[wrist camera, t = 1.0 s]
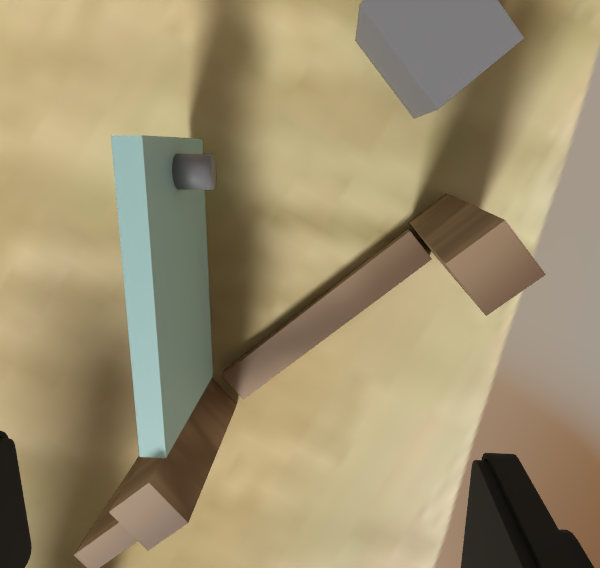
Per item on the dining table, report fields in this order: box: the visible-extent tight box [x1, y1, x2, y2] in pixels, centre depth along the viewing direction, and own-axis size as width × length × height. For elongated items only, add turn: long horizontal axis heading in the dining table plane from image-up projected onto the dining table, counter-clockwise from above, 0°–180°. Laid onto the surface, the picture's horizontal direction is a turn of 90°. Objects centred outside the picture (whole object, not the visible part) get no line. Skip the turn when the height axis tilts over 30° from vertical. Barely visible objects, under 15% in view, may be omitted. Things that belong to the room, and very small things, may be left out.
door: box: [111, 136, 217, 458], centre depth 25 cm, size 3×14×8 cm, turn 0°
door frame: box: [74, 194, 545, 568], centre depth 26 cm, size 2×23×10 cm, turn 130°
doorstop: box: [355, 0, 524, 118], centre depth 23 cm, size 5×4×7 cm
